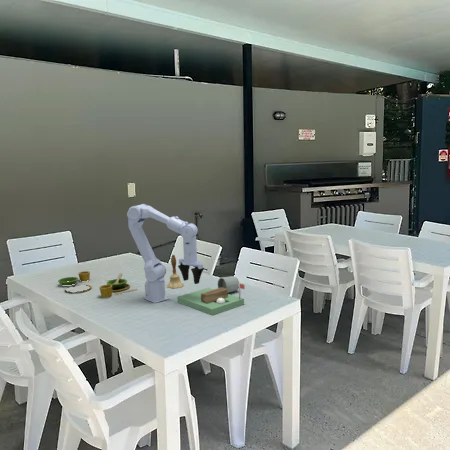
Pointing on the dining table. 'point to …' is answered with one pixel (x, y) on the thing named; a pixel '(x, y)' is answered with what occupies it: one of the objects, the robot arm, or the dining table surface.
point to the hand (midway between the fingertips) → (191, 281)
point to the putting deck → (212, 307)
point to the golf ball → (220, 301)
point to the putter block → (214, 295)
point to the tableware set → (105, 290)
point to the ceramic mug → (229, 283)
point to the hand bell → (174, 276)
